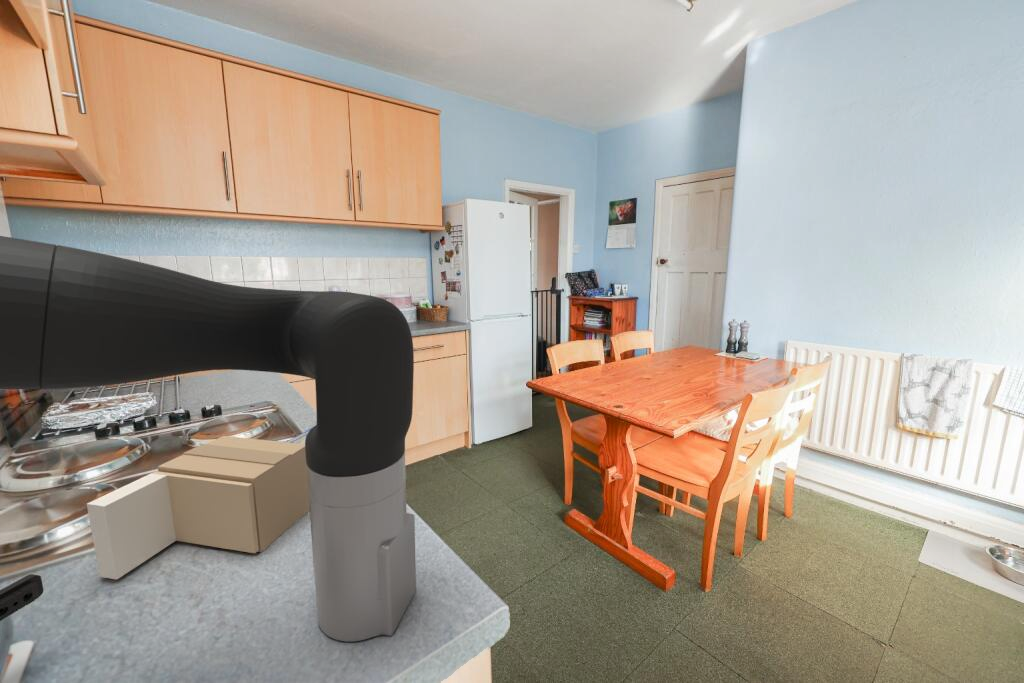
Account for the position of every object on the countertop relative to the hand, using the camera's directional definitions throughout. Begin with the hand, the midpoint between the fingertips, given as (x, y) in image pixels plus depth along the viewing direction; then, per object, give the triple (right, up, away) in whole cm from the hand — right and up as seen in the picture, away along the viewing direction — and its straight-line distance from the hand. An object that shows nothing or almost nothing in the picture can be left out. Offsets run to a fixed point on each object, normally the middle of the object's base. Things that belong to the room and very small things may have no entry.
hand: (3, 575), depth 39 cm
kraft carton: (+10, -4, +20) cm, 23 cm away
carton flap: (+8, -5, +11) cm, 15 cm away
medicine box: (+15, -2, +30) cm, 34 cm away
